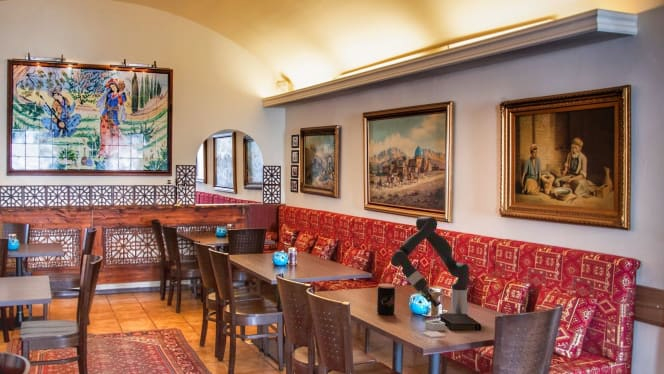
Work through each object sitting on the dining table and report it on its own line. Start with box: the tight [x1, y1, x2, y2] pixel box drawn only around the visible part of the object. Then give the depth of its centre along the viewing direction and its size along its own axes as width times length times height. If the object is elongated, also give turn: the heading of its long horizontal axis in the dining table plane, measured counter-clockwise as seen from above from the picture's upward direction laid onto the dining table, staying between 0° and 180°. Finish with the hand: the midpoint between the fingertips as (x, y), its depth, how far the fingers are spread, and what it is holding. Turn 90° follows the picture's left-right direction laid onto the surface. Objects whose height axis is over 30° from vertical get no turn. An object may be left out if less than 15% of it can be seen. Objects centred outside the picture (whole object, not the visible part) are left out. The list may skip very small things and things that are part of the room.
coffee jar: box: [376, 283, 396, 317], centre depth 427 cm, size 11×11×18 cm
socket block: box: [424, 319, 446, 332], centre depth 392 cm, size 8×8×4 cm
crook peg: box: [430, 291, 445, 318], centre depth 377 cm, size 7×4×13 cm, turn 66°
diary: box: [437, 312, 482, 332], centre depth 402 cm, size 19×25×5 cm
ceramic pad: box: [422, 331, 446, 339], centre depth 378 cm, size 9×9×1 cm
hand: (438, 305), depth 377 cm, fingers closed on crook peg, 3 cm apart
